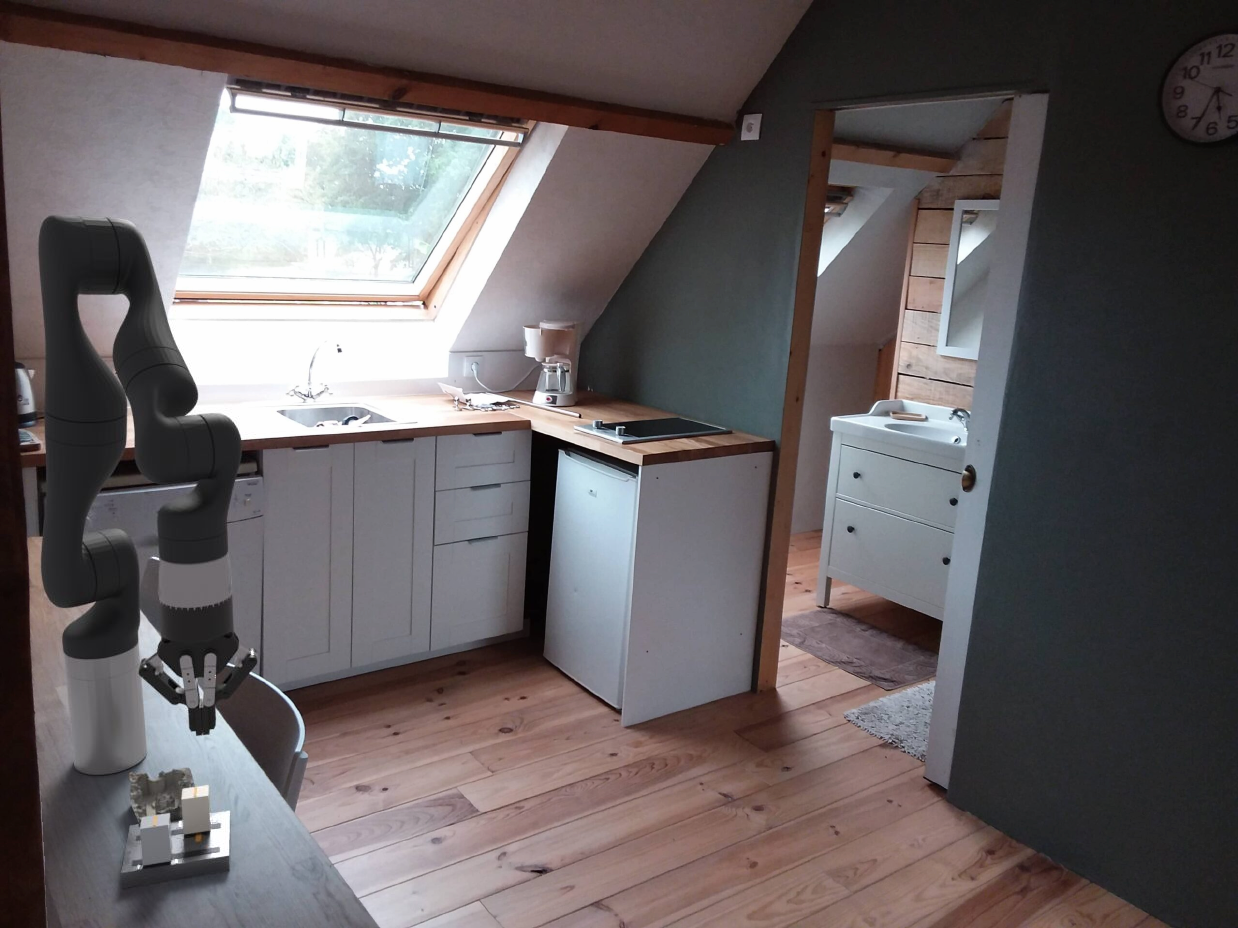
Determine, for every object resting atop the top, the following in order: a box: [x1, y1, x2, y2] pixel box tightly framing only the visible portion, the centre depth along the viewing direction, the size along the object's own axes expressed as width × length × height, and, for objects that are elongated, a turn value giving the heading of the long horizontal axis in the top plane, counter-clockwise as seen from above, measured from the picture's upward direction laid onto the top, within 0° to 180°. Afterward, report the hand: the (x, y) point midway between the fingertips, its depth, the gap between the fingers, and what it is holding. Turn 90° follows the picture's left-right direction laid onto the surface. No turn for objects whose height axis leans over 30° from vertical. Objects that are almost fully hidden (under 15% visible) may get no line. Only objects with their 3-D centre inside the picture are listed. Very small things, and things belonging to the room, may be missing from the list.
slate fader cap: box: [140, 813, 172, 865], centre depth 116 cm, size 2×3×5 cm
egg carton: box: [128, 767, 196, 824], centre depth 128 cm, size 11×8×4 cm
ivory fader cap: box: [181, 784, 211, 834], centre depth 122 cm, size 2×3×5 cm
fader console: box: [120, 810, 232, 889], centre depth 120 cm, size 10×12×2 cm
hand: (202, 731), depth 114 cm, fingers closed
